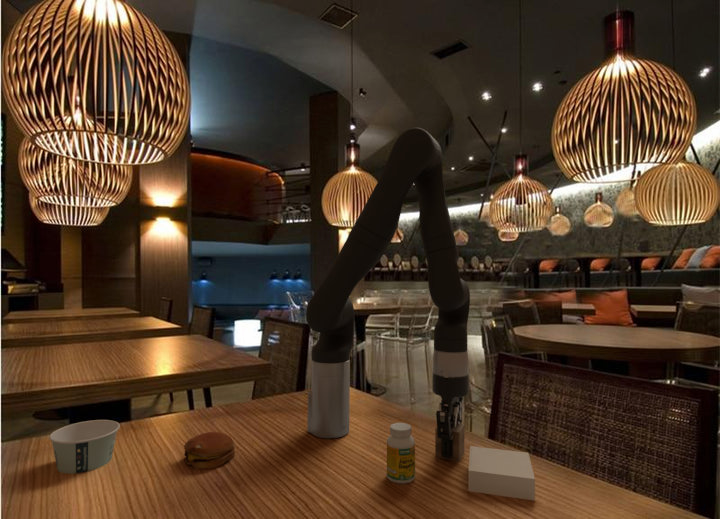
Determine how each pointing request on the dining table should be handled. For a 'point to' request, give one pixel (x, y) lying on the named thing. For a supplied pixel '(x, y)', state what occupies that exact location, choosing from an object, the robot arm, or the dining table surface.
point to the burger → (209, 450)
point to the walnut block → (457, 443)
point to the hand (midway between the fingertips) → (450, 451)
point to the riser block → (501, 473)
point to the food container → (84, 445)
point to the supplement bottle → (400, 454)
